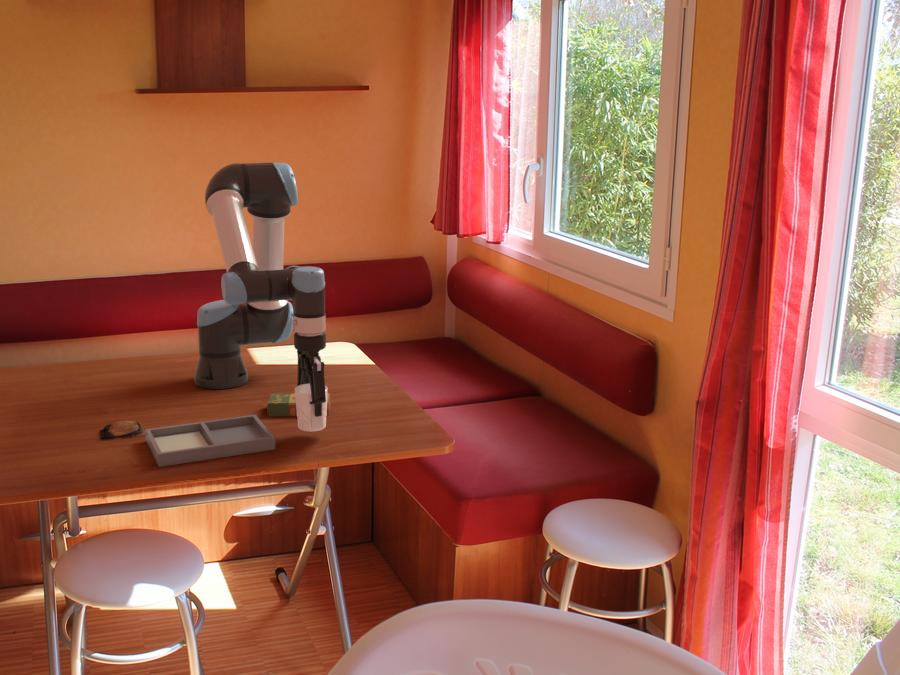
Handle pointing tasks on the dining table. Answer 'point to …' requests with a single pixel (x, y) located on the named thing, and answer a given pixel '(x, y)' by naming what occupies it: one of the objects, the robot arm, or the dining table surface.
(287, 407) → the carton
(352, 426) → the dining table surface
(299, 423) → the white cup
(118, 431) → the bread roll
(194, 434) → the gray divided tray
